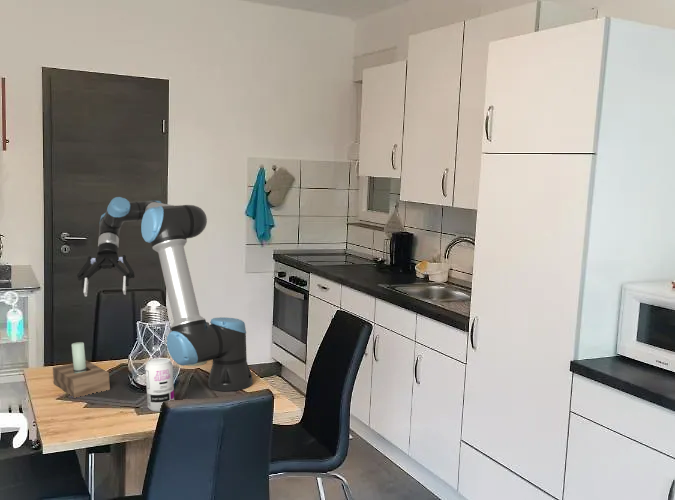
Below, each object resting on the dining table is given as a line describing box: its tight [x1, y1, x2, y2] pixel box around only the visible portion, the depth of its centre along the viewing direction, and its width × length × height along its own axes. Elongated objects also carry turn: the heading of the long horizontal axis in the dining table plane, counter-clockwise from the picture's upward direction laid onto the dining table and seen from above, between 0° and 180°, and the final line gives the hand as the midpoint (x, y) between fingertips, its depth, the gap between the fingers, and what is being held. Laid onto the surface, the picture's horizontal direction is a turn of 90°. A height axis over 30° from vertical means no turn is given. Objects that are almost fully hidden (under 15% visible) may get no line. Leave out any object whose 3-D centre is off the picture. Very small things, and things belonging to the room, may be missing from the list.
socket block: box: [52, 360, 111, 399], centre depth 235 cm, size 20×12×6 cm, turn 41°
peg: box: [71, 341, 87, 374], centre depth 234 cm, size 4×4×15 cm
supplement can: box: [145, 357, 175, 412], centre depth 213 cm, size 8×8×15 cm
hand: (104, 293), depth 247 cm, fingers open, 13 cm apart
